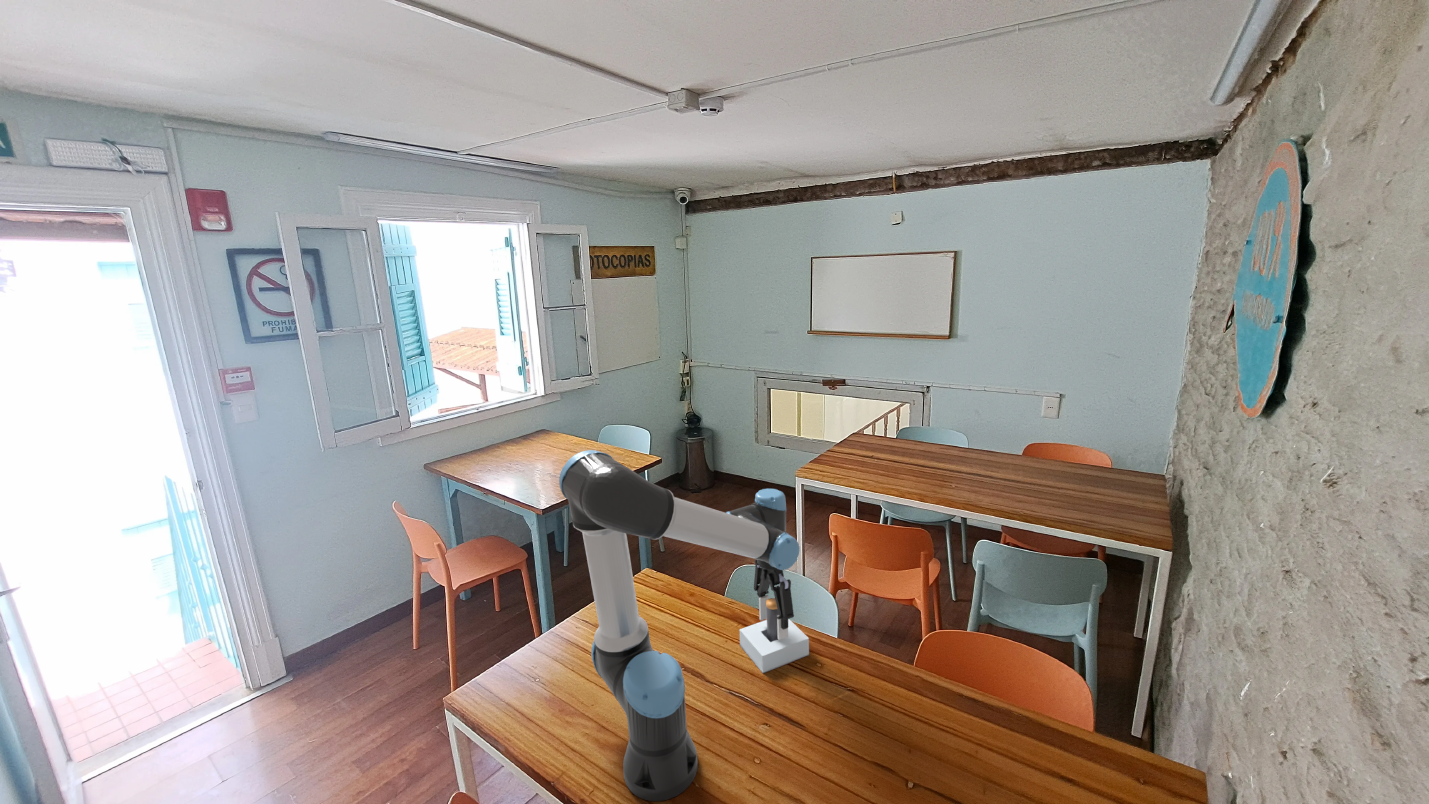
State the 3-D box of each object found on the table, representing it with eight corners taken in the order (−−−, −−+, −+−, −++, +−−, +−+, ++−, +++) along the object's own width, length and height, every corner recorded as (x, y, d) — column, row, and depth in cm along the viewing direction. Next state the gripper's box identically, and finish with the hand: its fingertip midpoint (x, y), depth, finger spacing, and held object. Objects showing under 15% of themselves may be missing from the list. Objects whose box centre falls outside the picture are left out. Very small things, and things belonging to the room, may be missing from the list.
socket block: (808, 654, 143) (808, 638, 142) (762, 673, 137) (762, 656, 136) (783, 629, 153) (783, 613, 152) (740, 645, 148) (739, 629, 146)
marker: (783, 650, 144) (782, 603, 141) (771, 654, 143) (770, 607, 139) (776, 642, 147) (775, 596, 144) (764, 646, 146) (763, 600, 143)
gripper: (808, 564, 131) (808, 646, 136) (763, 529, 149) (764, 602, 155) (781, 572, 128) (783, 656, 133) (738, 535, 146) (741, 610, 151)
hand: (773, 627), depth 144 cm, fingers open, 8 cm apart
